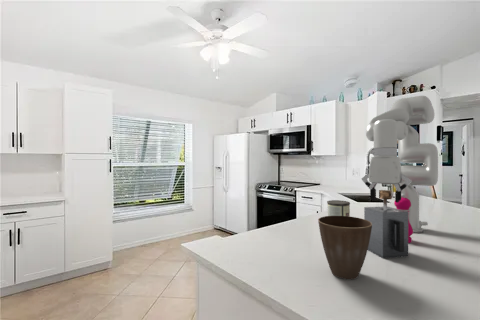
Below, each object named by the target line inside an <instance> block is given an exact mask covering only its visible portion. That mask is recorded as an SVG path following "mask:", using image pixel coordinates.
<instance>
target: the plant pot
mask: <svg viewBox="0 0 480 320" xmlns="http://www.w3.org/2000/svg"><path fill="white" fill-rule="evenodd" d="M317 220H318V228H319V229H318V230H319V233H320V239H321V244H322V246H323V247H322V248H323V251H324V254H325V257H326V260H327V263H328V265H329V269H330V271H331V273H332V274H333V276H335V277H337V278H340V279H343V280H355V279H357V278H358V277H359V275H360V273H361V271H362V268H363V265H364V264H365V260H366V256H367V253H368V246H369V241H370V236H371V229H372V223H371V222H370V221H368V220H365V219H364V218H361V217H356V216H351V215H350V216H328V215H326V216H322V217H321V216H320V217H318V219H317Z"/></svg>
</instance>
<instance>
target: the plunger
mask: <svg viewBox="0 0 480 320" xmlns="http://www.w3.org/2000/svg"><path fill="white" fill-rule="evenodd" d="M392 194H393V193H392V190H391V189H390V190H389V189H379V190H378V199H380V200H383V203H382V204H383V206H382V207H383V210H387V206H388V200H392V199H393V198H392Z"/></svg>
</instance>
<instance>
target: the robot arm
mask: <svg viewBox="0 0 480 320" xmlns="http://www.w3.org/2000/svg"><path fill="white" fill-rule="evenodd" d="M434 118H435V109H434V106H433V104H432V102H431V100H430V98H429V97H428V96H425V95H416V96H410V97H404V98H403V97H402V98H399V99H397V100H395V101H394V102H393V103H392V104H391V107H390V108H389V110H387V111H385V112H383V113H381V114H378V115H376V116H375V117H373V118H372V119H371V120H370V121H369V123H368V125H367V126H366V129H365V136H366V138H367V140H368V141H369V142H373V149H372V150H369V154H370V155H372V156H371V158H370V162H369V170H368V173H367V174H366V175H364V176H363V177H362V178H361V181H362V182H363V183H364V184H365V185H366V187H367V188H368V189H369V195H370V198H371V201H375V200H377V189H376V186H377V185H378V184H381V185H393V186H394V189H395V192H394V195H395V196H394V197H395V199H394V202H397V203H398V202H399V201H400V200H401V194H404V195H405V197H404V198H407V199H409V200H410V202H411V207H410V208H409V210H410V211H409V212H410V213H409V214H408V218H409V222H410V224H411V226H412V229H413V234H417V233H423V232H424V228H423V227H424V226H428V224H429V223H428V221H421V220H420V194H419V192H418V191H417V189H416V188H415V187H414V186H422V187H423V186H425V187H434V186H435V185H437V184H438V182H439V150H438V148H437V146H436V144H434V143H429V142H427V143H425V142H424V143H420V142H419V141H420V140H419V139H420V138H419V137H420V134H419V133H418V131H417V130H416V129H415V128H414V127H413V126H415V125H425V124H426V125H427V124H430V123H432V122H433V120H434ZM402 163H405V164H425V165H402ZM395 208H397V207H396V206H395Z"/></svg>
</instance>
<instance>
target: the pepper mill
mask: <svg viewBox="0 0 480 320" xmlns="http://www.w3.org/2000/svg"><path fill="white" fill-rule="evenodd" d="M404 197H405V195H404V194H401V200H400V201H399V202H398V203H397V202H395V201H394V202H393V203H394V206H395V208H396V207H397V208H396V209H400V210H404V211H408V214H409V213H410V212H409V211H410V210H409V208H410V207H411V202H410V200H409V199H407V198H404ZM413 234H414V233H413V229H412V226H411V224H410V222H409V218H408V244H410V243H412V241H413V239H412V238H413V237H411V236H412V235H413Z"/></svg>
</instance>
